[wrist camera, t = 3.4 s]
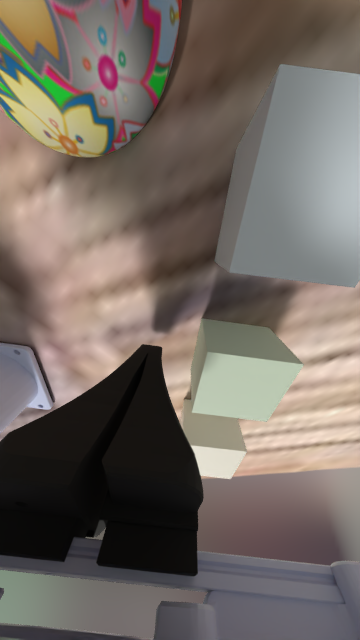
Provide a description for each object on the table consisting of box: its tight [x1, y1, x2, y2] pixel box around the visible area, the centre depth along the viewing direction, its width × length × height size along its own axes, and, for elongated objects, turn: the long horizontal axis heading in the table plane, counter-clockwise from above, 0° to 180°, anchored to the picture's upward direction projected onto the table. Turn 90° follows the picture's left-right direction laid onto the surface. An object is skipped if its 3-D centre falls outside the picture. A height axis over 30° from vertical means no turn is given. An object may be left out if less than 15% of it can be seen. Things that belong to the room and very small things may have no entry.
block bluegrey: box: [214, 64, 360, 288], centre depth 7 cm, size 5×5×4 cm
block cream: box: [180, 399, 247, 479], centre depth 15 cm, size 5×5×4 cm
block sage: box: [191, 319, 304, 422], centre depth 11 cm, size 5×5×4 cm
